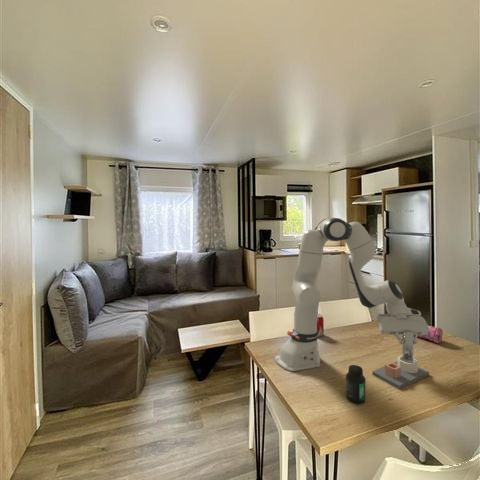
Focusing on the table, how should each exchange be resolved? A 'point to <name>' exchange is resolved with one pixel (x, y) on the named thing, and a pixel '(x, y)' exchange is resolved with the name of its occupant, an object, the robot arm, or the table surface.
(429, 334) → the pencil case
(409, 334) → the metal peg
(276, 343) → the table surface
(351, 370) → the supplement bottle
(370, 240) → the robot arm
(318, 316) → the soda can
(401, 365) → the holder board
